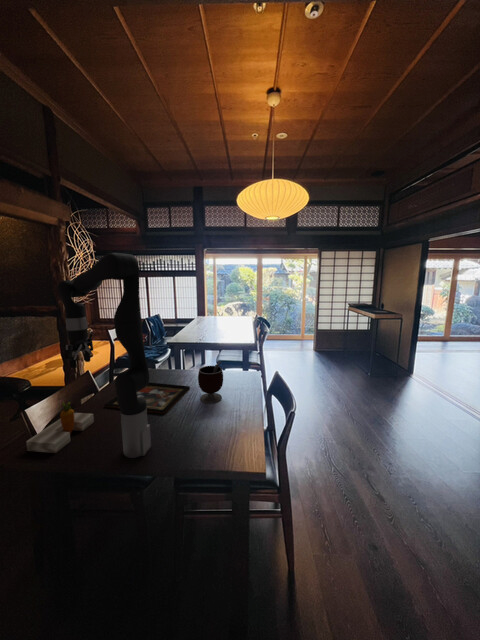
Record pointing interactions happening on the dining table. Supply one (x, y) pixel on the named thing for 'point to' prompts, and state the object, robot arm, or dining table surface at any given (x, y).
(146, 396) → the framed painting
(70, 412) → the carrot
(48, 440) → the notched board
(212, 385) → the mate gourd
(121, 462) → the dining table surface
